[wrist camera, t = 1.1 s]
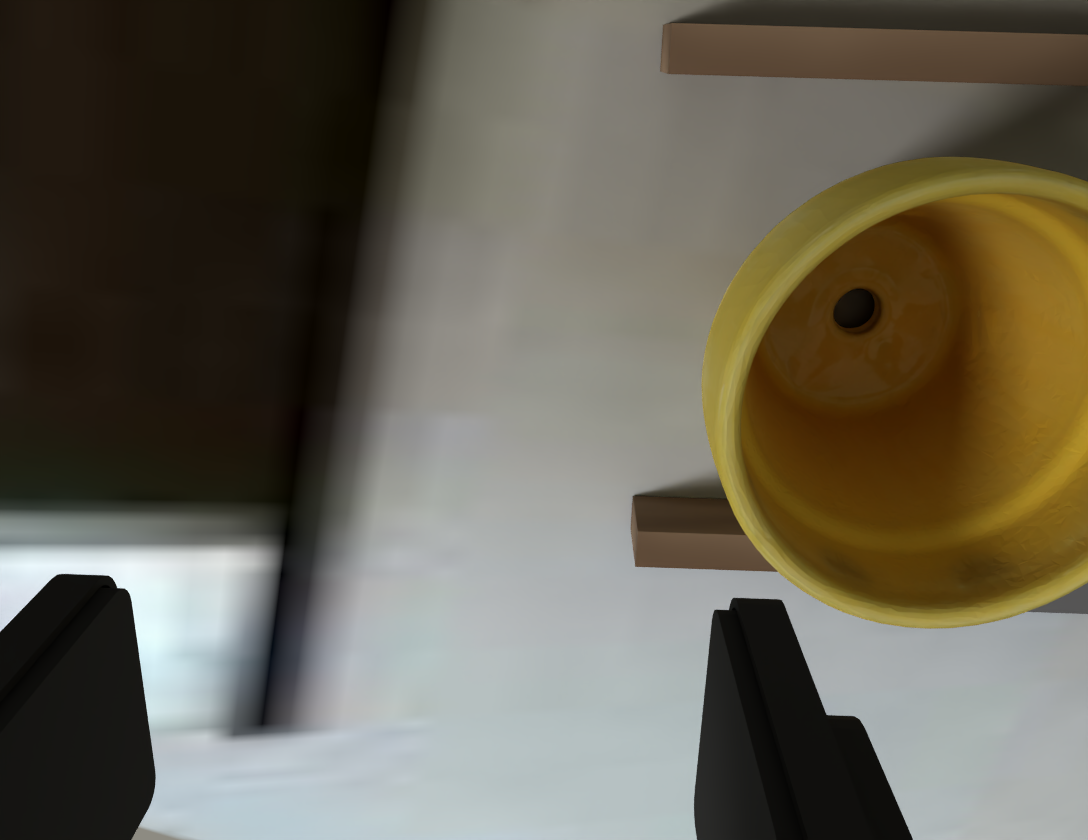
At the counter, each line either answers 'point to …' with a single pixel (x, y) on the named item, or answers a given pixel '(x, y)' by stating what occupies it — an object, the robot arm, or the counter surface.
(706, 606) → the counter surface
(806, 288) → the plant pot
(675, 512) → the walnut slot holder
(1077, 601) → the rubber strips
